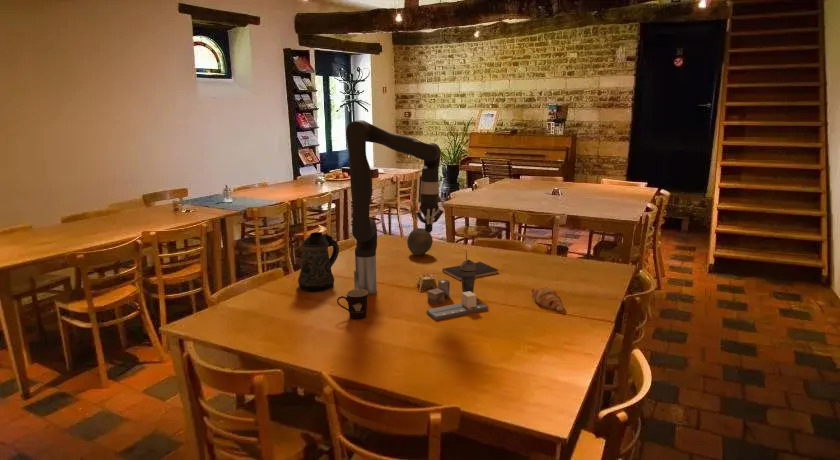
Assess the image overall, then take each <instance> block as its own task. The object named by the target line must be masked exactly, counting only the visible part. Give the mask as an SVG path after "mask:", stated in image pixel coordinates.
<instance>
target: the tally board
mask: <svg viewBox="0 0 840 460" xmlns="http://www.w3.org/2000/svg"><path fill="white" fill-rule="evenodd" d="M488 307H489V306H488V305H486V304H485V303H483V302H482V301H480V300H478V299H476V307H471V308H467V307H465V306H464V305H462V304H461V302H459V303H455V304H449V305H443V306H439V307H438V306H437V307H434V308H433V307H432V308H428V309H426V314H427V315H429V316H430V317H431V318H432V319H434V320H435V321H439V320H444V319H449V318H454V317H459V316H464V315H469V314H473V313H478V312H483V311H484V312H485V311H488V310H489V308H488Z"/></svg>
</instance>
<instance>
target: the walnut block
mask: <svg viewBox="0 0 840 460" xmlns="http://www.w3.org/2000/svg"><path fill="white" fill-rule="evenodd" d="M427 303H429V304H430V305H431V304H432V305H433V306H434V305H435V306H437V305H441V304H443V303H445V299H444V291H442V290H439V289H438V287H437V288H433V289H429V290H427Z"/></svg>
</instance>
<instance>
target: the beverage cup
mask: <svg viewBox="0 0 840 460" xmlns="http://www.w3.org/2000/svg"><path fill="white" fill-rule="evenodd" d="M467 252H468V251H467V250H465V251H464V253H465V260H463V262H462V263H461V264H460V265H461V267H460V272H461V279H462V280H461V290H462V292H468V291H471V292H472V293H474V291H475V290H474V288H475V281H476V277H475V274H476V270H477V269H476V265H475V263H476V262H475V261H474V260H470V259H468V253H467Z"/></svg>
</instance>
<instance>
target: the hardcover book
mask: <svg viewBox="0 0 840 460" xmlns="http://www.w3.org/2000/svg"><path fill="white" fill-rule="evenodd" d="M474 263H475V265H476V269H477V270H476V274H475V278H478V277H479V278H480V277H484V276H488V275H489V276H490V275H494V274H498V272H499V270H500V269H498V268H495V267H493V266H491V265H489V264H486V263H484V262H481V261H478V262H474ZM460 267H461V264H460V265H455V266H450V267H443V268H442V270H441V271H442V272H443V273H445V274H447V275H449V276H451V277H452V278H454V279H456V280H458V281H462V279H461V272H460Z"/></svg>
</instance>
